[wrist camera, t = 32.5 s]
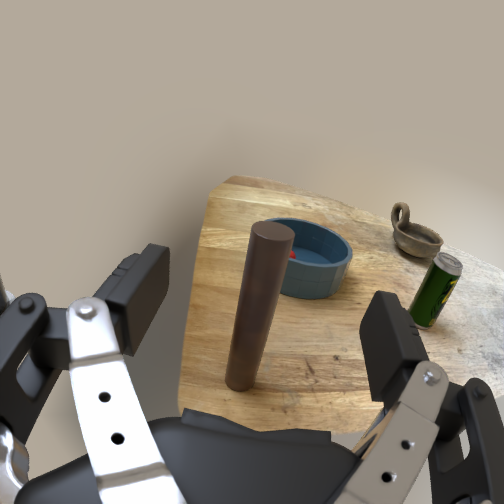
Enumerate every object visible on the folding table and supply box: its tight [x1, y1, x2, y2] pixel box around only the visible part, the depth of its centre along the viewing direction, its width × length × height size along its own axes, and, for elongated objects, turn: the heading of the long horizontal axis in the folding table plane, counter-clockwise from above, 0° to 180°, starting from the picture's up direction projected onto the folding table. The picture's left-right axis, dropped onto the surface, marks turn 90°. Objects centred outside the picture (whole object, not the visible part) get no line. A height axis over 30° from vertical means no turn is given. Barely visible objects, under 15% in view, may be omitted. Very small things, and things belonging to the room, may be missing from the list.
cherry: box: [290, 250, 296, 259], centre depth 52 cm, size 3×3×3 cm
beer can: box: [408, 252, 463, 330], centre depth 42 cm, size 5×5×12 cm
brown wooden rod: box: [225, 221, 295, 391], centre depth 26 cm, size 3×3×18 cm
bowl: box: [391, 202, 443, 258], centre depth 67 cm, size 14×18×10 cm
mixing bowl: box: [265, 218, 352, 299], centre depth 51 cm, size 17×17×6 cm
